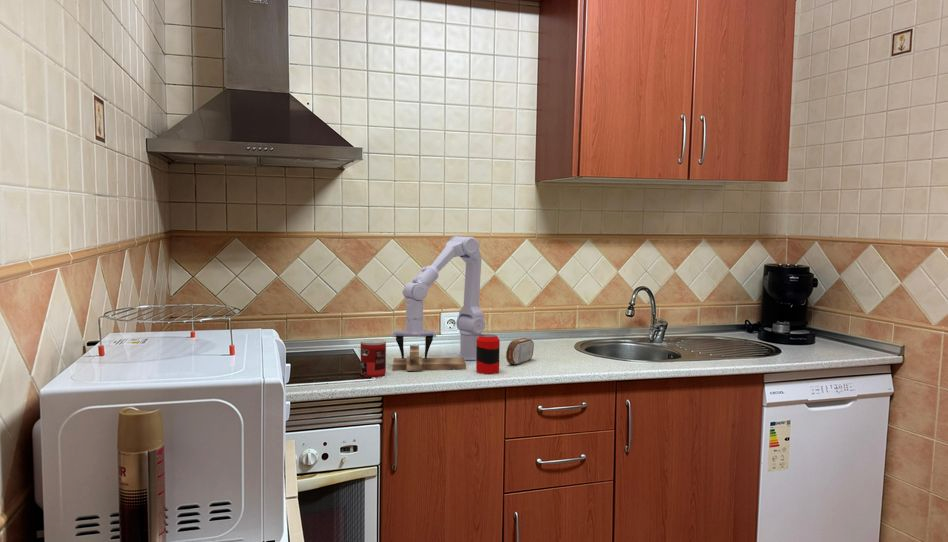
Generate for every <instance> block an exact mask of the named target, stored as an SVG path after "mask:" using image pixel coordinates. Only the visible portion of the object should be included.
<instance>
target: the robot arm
mask: <svg viewBox="0 0 948 542" xmlns="http://www.w3.org/2000/svg"><path fill="white" fill-rule="evenodd" d="M481 255H482V254H481V252H480V242H479V241H478V240H477V239H476V238H475V237H473V236H457V235H455V236H452V237H451V238H450V240H448V241H447V242H446V243H445V247H444V248H443V250H442V251H441V252H440V253H439V254H438V256H437V257H436V259H434V261H433V262H432V264H431V265H426V266H423V267H422V268H421V269H420V270H421V271H420V272H419V273H418V274H417V275H416V277H413V279H412V281H411V282H410V281H409V282H407V284H405V286H404V287H403V290H402V295H403V297H404V298H405V329H403V330H402V329H401V330H392V338H395V341H396V343H397V345H398V348H399V351H400V355H401V358H402V359H404V358H405V352H404V351H405V350H404V338H424V339H425V342H424V343H425V345H424V358H425V359H427V358H428V354H429V353H428V352H429V350H430V347H431V344H432V343H433V341H434V338H437V330H429V329H428V330H425V329H424V299H425V298H426V297H427V295H428V290H429V288H431V287H432V285H433V284H434V283H435V282H436V281H437V280H438V279H439V277H440V276H439V272H440V271H441V270H442V269H444V268H445V266H446V265H447V264H448V263H450V262H451V260H452V259H453V258H456V257H460V258H461V259H462V260H463V262H464V263H465V271H464V272H465V273H464V274H465V275H464V287H463V289H464V292H463V306H462V308H460V310H459V311H458V316H457V319H456V323H455V324H456V328H457V330H458V331H459V334H460V336H459V338H460V340H459V341H460V342H459V343H460V344H459V345H460V348H459V349H460V352H459V353H460V354H458V358H464V360H465V361H476V346H477V338H478V337H479V336H480V335H482V334H483V332H484V330H485V329H486V328H485V327H486V321H485V319H484V313H483V311H482V309H480V291H481V289H480V288H481V274H482V256H481Z"/></svg>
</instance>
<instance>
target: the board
mask: <svg viewBox="0 0 948 542" xmlns="http://www.w3.org/2000/svg"><path fill="white" fill-rule="evenodd" d="M453 369H466V370H467V364H466V360H464V358H459V357H427V359H425V357H422V371H454V370H453ZM392 371H407V357H404V359H402V357H394V358H393V362H392Z"/></svg>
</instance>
